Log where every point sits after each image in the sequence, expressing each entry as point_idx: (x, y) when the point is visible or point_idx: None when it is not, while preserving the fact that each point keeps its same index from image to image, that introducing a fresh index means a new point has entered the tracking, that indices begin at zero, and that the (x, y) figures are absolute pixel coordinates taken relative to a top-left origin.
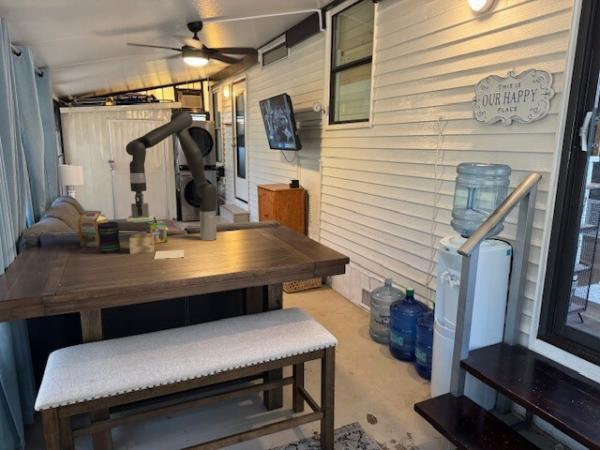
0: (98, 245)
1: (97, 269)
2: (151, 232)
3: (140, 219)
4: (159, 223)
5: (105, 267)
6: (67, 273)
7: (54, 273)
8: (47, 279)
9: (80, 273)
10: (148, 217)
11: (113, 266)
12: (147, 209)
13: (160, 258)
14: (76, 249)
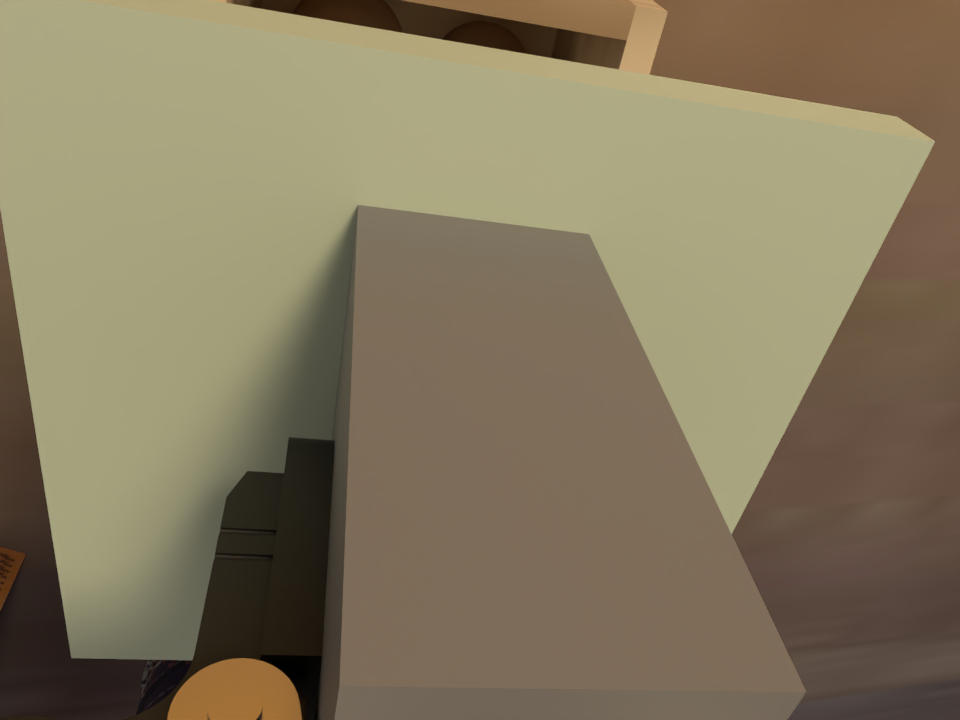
0: (18, 564)
1: (923, 491)
2: None
3: (774, 439)
4: None
5: (908, 447)
6: (881, 628)
7: (825, 679)
8: (933, 685)
9: (942, 570)
10: (615, 238)
11: (925, 394)
12: (670, 446)
13: None
14: (124, 680)
